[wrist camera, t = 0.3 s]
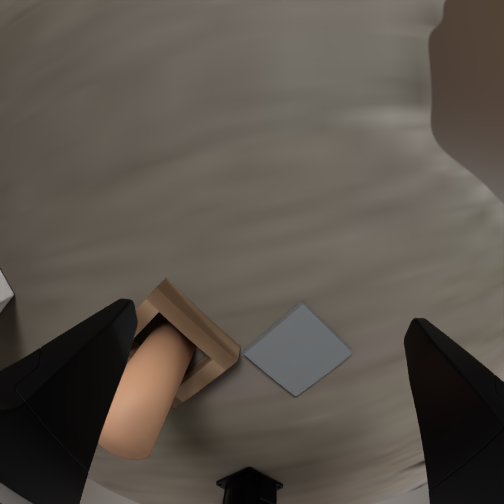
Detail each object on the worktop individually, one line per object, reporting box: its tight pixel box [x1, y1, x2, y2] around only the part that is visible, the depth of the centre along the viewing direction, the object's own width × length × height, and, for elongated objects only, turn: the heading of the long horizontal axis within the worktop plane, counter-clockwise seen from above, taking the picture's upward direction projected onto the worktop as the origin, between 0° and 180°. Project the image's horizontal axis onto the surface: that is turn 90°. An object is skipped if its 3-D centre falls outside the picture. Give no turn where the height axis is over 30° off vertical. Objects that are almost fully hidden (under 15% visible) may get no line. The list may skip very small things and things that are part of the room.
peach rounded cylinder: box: [98, 321, 196, 460], centre depth 21 cm, size 4×4×13 cm
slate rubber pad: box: [244, 301, 353, 397], centre depth 26 cm, size 7×7×1 cm
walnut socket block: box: [127, 278, 240, 409], centre depth 26 cm, size 9×9×2 cm
